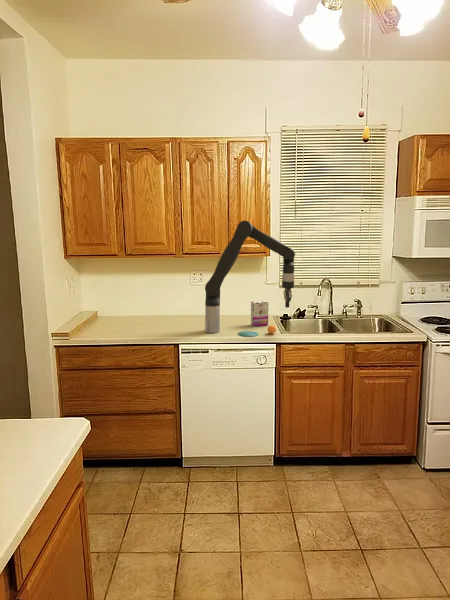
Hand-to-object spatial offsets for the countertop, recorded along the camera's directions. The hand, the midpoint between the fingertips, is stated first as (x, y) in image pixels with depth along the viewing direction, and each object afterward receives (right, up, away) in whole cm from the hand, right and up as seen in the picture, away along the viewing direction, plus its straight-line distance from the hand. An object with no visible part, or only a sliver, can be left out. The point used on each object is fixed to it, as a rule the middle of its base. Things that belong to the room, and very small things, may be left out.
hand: (287, 307), depth 282 cm
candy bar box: (-16, -13, +23) cm, 31 cm away
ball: (-10, -14, +2) cm, 17 cm away
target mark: (-24, -17, +1) cm, 30 cm away
